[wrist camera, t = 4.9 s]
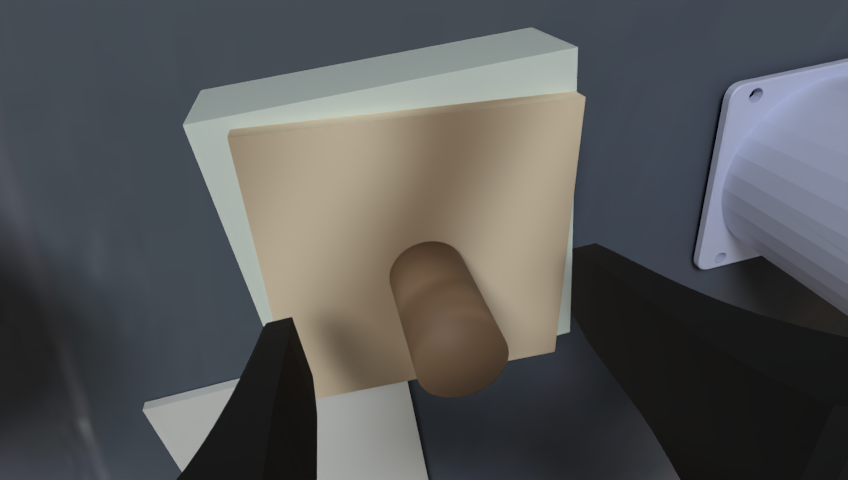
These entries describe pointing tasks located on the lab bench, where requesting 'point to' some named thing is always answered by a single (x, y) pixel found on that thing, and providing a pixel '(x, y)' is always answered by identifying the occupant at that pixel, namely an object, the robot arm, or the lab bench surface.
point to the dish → (366, 94)
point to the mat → (336, 430)
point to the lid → (415, 237)
